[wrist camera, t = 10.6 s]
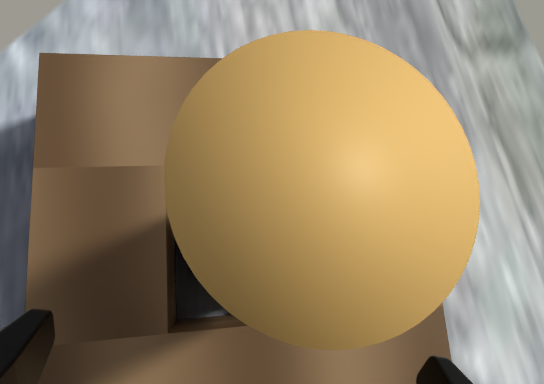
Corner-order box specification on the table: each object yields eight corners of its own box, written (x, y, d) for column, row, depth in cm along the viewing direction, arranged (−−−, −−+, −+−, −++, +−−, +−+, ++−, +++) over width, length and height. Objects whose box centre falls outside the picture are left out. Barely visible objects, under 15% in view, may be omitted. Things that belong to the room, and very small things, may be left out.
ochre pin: (275, 300, 17) (478, 368, 4) (185, 288, 16) (128, 327, 4) (286, 212, 18) (480, 66, 5) (201, 198, 17) (197, -2, 5)
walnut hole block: (64, 447, 14) (13, 508, 11) (75, 102, 17) (39, 52, 13) (404, 397, 17) (462, 432, 13) (365, 105, 20) (404, 64, 16)
